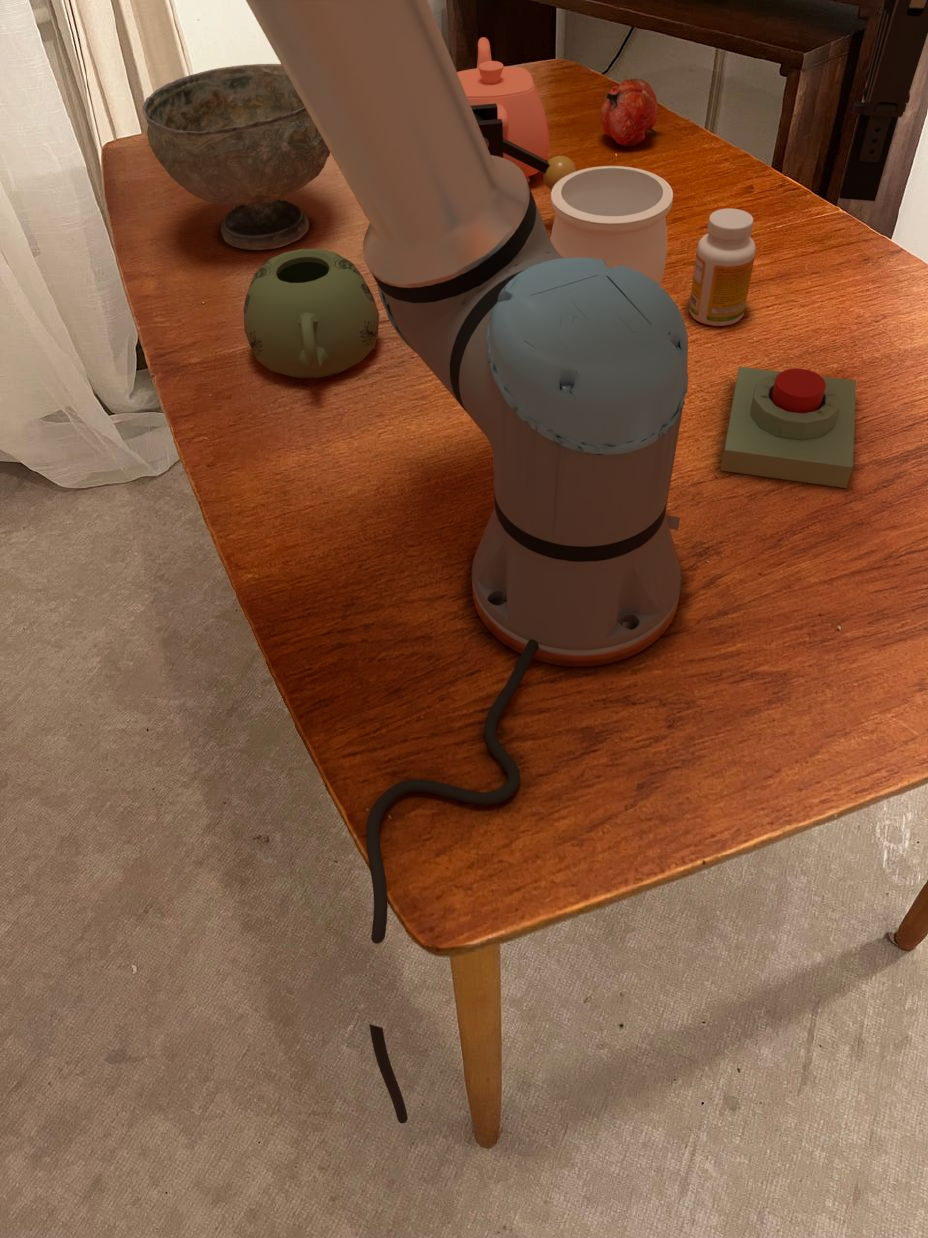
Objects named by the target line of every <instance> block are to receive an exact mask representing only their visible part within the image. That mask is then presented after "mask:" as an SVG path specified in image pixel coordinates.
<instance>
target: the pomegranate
mask: <svg viewBox="0 0 928 1238" xmlns="http://www.w3.org/2000/svg"><path fill="white" fill-rule="evenodd" d="M657 121H658V101H657V95H656V93H655V92H654V89H653V88H652V86H651V84H650V83H649V82H648V81H645V80H644V79H643V78H640V79H639V78H630V79H624V80H623V81H622V82H621V83H620V84H616V85H614V86H612V87H611V88H610V90H609V93H606V95H605V101H604V102H603V104H602V105H601V111H600V123H601V125H602V129H603V131H604V133H605V134H606V135H607V137H609V138H611V139H613V140H614V141H615V142H616V143H617V144H618V145H621V146H623V147H635V146H636V145H638V144H641V143H642V142H643V141H644V140H645V138H646V131H650V132H652V133H653V134H655V135H657V133H658V132H657V131H656V130H654V128H653V127H654V126H655V125H656V123H657Z"/></svg>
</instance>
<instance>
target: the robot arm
mask: <svg viewBox="0 0 928 1238" xmlns="http://www.w3.org/2000/svg"><path fill="white" fill-rule="evenodd" d="M245 2H246V3H247V5H248V7H249V9H250V10H251V12H252V14H253V16H254V18H255V19H256V22H257V24H258V25H259V26H260V28H261V30H262V32H263V34H264V36H265V37H266V39H267V41H268V43H269V45H270V47H271V48H272V50H273V52H274V54H275V55H276V57H277V59H278V61H279V64H282V66H283V68H284V70H285V72H286V73H287V75H288V77H289V79H290V81H291V82H292V84H293V86H294V88H295V90H296V91H297V93H298V95H299V97H300V99H301V100H302V102H303V104H304V106H305V108H306V109H307V111H308V113H309V115H310V117H311V118H312V120H313V122H314V124H315V126H316V127H317V129H318V131H319V133H320V134H321V136H322V138H323V140H324V142H325V143H326V145H327V147H328V149H329V151H330V155H331V156H332V158H333V160H334V162H335V163H336V165H337V167H338V169H339V170H340V172H341V174H342V176H343V177H344V179H345V181H346V183H347V186H349V188H350V190H351V192H352V194H353V195H354V198H355V199H356V201H357V203H358V205H359V206H360V208H361V209H362V212H363V214H364V216H365V217H366V219H367V221H368V223H369V224H368V225H367V228H366V231H365V233H364V238H363V242H362V255H363V260H364V263H365V265H366V266H367V269H368V270H369V272H370V274H371V275H372V277H373V279H374V281H375V282H376V285H377V290H378V295H379V299H380V300H381V303H382V306H383V308H384V310H385V313H386V316H387V318H388V321H389V323H390V324H391V326H392V327H393V329H394V330H395V332H396V333H397V335H398V336H399V337H400V339H401V340H402V341H403V342H404V343H405V344H406V345H407V347H408V348H410V349H411V350H412V351H413V352H415V354H417V356H418V357H419V358H420V359H421V360H422V362H423V363H424V364H425V365H426V366H427V367H428V369H429V370H430V371H431V372H432V374H434V375H435V377H436V378H437V380H439V382H440V383H441V384H442V385H443V387H444V388H445V389H446V390H447V391H448V392H449V393H450V395H451V396H452V397H453V398H454V400H455V401H456V402H457V403H458V404H459V406H460V407H461V408H462V409H463V411H465V412H466V413H467V415H468V416H469V418H470V419H471V420H472V421H473V422H474V424H476V426H477V427H478V428H479V430H480V431H481V432H482V433H483V434H484V436H485V437H486V438H487V440H488V443H489V445H490V448H491V451H492V460H493V461H492V463H493V491H494V493H493V494H494V496H493V498H494V507H493V510H492V511H491V514H490V516H489V519H488V521H487V524H486V526H485V529H484V531H483V534H482V536H481V539H480V541H479V544H478V547H477V548H476V552H475V554H474V557H473V560H472V566H471V587H472V589H471V590H472V599H473V603H474V607H475V610H476V612H477V614H478V616H479V618H480V620H481V621H482V623H483V624H484V626H485V627H486V629H488V631H489V632H490V633H491V634H492V635H493V636H494V637H495V638H496V639H497V640H498V641H499V642H501V643H502V644H504V645H505V646H507V647H508V648H510V649H511V650H513V651H514V652H517V653H518V654H521V655H520V656H519V659H518V660H517V663H516V664H515V666H514V668H513V670H512V672H511V674H510V675H509V678H508V679H507V682H506V683H505V685H504V687H503V688H502V690H501V691H500V693H499V694H498V695H497V697H496V698H495V700H494V702H493V703H492V705H491V706H490V708H489V711H488V713H487V714H486V718H485V721H484V727H483V731H484V735H483V736H484V739H485V743H486V746H487V747H488V749H489V751H490V753H491V755H492V756H493V757H494V758H495V760H496V761H497V762H498V763H499V765H500V766H501V767H502V768H503V769H504V772H505V773H506V775H507V779H506V782H505V783H504V785H502V786H501V787H500V788H499V789H495V790H494V791H488V792H487V791H485V792H484V791H475V790H470V789H466V788H462V787H458V786H455V785H453V784H448V783H444V782H441V781H436V780H430V779H425V778H424V779H423V778H417V779H413V778H412V779H406V780H404V781H400V782H397V783H396V784H394V785H392V786H391V787H389V788H387V790H385V791H384V792H383V793H382V794H381V795H380V796H379V797H378V799H377V800H376V801H375V803H374V804H373V805H372V807H371V810H370V812H369V814H368V817H367V822H366V827H365V838H366V839H365V840H366V841H365V842H366V852H367V858H368V859H367V860H368V865H369V871H370V877H371V885H372V893H373V914H372V915H373V917H372V927H371V936H370V940H371V941H372V943H373V944H376V945H379V944H381V943H383V941H384V940H385V938H386V934H387V933H386V932H387V923H388V906H389V905H388V903H389V901H388V889H387V888H388V887H387V880H386V873H385V867H384V862H383V856H382V855H383V854H382V849H381V842H380V828H381V822H382V819H383V817H384V814H385V813H386V811H387V810H388V809H389V807H390V806H391V805H392V804H393V803H394V802H395V801H396V800H397V799H398V798H400V797H401V796H403V795H406V794H410V793H426V794H432V795H436V796H440V797H445V798H448V799H451V800H455V801H458V802H462V803H465V804H466V803H467V804H471V805H477V806H491V805H497V804H500V803H503V802H506V801H508V800H509V799H510V798H511V797H512V796H513V795H514V794H515V793H516V792H517V790H518V789H519V787H520V784H521V771H520V769H519V767H518V765H517V763H516V762H515V760H514V759H513V758H512V756H511V755H510V754H509V753H508V751H507V750H506V749H505V748H504V746H503V745H502V744H501V742H500V740H499V738H498V734H497V729H498V727H497V726H498V723H499V720H500V718H501V716H502V714H503V712H504V710H505V709H506V707H507V706H508V704H509V703H510V701H511V700H512V699H513V696H515V694H516V692H517V690H518V688H519V686H520V684H521V683H522V681H523V679H524V677H525V675H526V673H527V671H528V669H529V667H530V665H531V663H532V661H533V660H535V661H539V662H541V663H546V664H550V665H555V666H562V667H574V668H575V667H581V668H583V667H597V666H602V665H608V664H612V663H616V662H620V661H622V660H625V659H627V658H630V657H632V656H635V655H637V654H638V653H640V652H642V651H644V650H646V649H647V648H649V647H650V646H652V644H654V643H655V642H656V641H658V640H659V639H660V637H661V636H663V634H664V633H665V632H666V630H667V629H668V628H669V627H670V625H671V623H672V622H673V620H674V617H675V615H676V613H677V610H678V605H679V601H680V595H681V590H682V589H681V588H682V582H683V581H682V580H683V579H682V568H681V564H680V561H679V557H678V553H677V549H676V547H675V543H674V540H673V536H672V532H671V530H673V531H679V529H680V528H679V527H680V522H681V517H679V516H674V515H669V514H666V512H667V506H668V505H667V504H668V499H669V495H670V494H669V493H670V487H671V482H672V476H673V475H672V474H673V471H674V464H675V457H676V452H677V446H678V441H679V440H678V439H679V435H680V429H681V428H680V427H681V422H682V417H683V416H682V415H683V411H684V410H683V409H684V405H685V401H686V400H685V399H686V396H687V393H688V389H689V372H688V367H689V366H688V363H689V362H688V361H689V359H688V358H689V357H688V356H689V336H688V330H687V326H686V323H685V320H684V317H683V315H682V312H681V311H680V308H679V307H678V305H677V304H676V302H675V301H674V299H673V298H672V297H671V295H670V294H669V293H668V292H667V291H666V290H665V289H664V288H663V287H662V286H661V287H660V286H659V285H658V284H657V283H655V282H654V281H653V280H651V279H650V278H649V277H647V276H645V275H644V274H642V273H640V272H638V271H636V270H634V269H632V268H629V267H627V266H624V265H620V266H618V267H616V268H609V267H608V266H606V262H605V260H601V259H595V258H585V257H571V258H562V257H561V256H560V254H559V253H558V252H557V250H556V249H555V247H554V246H553V244H552V242H551V240H550V239H551V237H550V236H549V234H548V230H547V229H546V226H545V223H544V220H543V218H542V216H541V213H540V210H539V208H538V205H537V202H536V200H535V197H534V195H533V192H532V190H531V187H530V185H529V183H528V182H527V180H526V177H525V175H524V173H523V172H522V170H521V169H520V168H519V167H518V166H517V165H515V164H514V163H513V162H511V161H509V160H507V159H504V158H501V157H498V156H493V155H490V153H489V150H488V148H487V145H486V143H485V140H484V138H483V135H482V133H481V131H480V128H479V126H478V123H477V121H476V118H475V116H474V113H473V111H472V108H471V106H470V104H469V101H468V99H467V96H466V94H465V91H464V89H463V86H462V84H461V81H460V79H459V77H458V74H457V72H458V71H457V69H456V67H455V64H454V62H453V59H452V57H451V55H450V52H449V49H448V47H447V44H446V42H445V40H444V38H443V35H442V33H441V30H440V28H439V26H438V23H437V21H436V18H435V14H433V10H432V8H431V5H430V3H429V0H245ZM874 36H875V37H874V40H873V43H872V44H873V45H872V49H871V53H870V58H869V63H868V66H867V69H865V72H864V81H865V84H866V85H865V87H863V90H862V94H861V95H862V97H863V98H862V101H854V103H853V107H852V115H857V117H856V122H855V125H854V129H853V134H852V138H851V142H850V146H849V149H848V150H849V151H848V154H847V158H846V162H845V166H844V170H843V173H842V179H841V183H840V186H839V193H838V194H839V195H838V198H839V199H840V200H841V199H843V200H853V201H855V200H857V201H866V202H876V199H877V195H878V192H879V188H880V185H881V180H882V177H883V175H884V171H885V167H886V163H887V160H888V156H889V152H890V148H891V145H892V141H893V138H894V134H895V130H896V127H897V123H898V119H899V118H902V117H903V116H904V113H905V112H906V108H907V104H909V102H910V99H911V93H910V92H911V88H912V85H913V82H914V79H915V76H916V73H917V69H918V66H919V63H920V60H921V58H922V57H921V56H922V54H923V50H924V47H925V44H926V40H927V37H928V0H882V5H881V10H880V14H879V19H878V23H877V27H876V31H875V35H874ZM368 1026H369V1032H370V1038H371V1043H372V1047H373V1053H374V1055H375V1059H376V1063H377V1065H378V1069H379V1071H380V1074H381V1077H382V1079H383V1081H384V1084H385V1086H386V1089H387V1092H388V1094H389V1097H390V1099H391V1102H392V1105H393V1109H394V1112H395V1116H396V1119H397V1121H398V1122H399V1123H400V1124H402V1125H403V1124H406V1123H407V1121H408V1119H409V1117H408V1112H407V1108H406V1104H405V1101H404V1097H403V1094H402V1091H401V1089H400V1086H399V1083H398V1081H397V1077H396V1075H395V1072H394V1069H393V1068H392V1063H391V1060H390V1057H389V1053H388V1048H387V1045H386V1040H385V1033H384V1028H383V1027H382V1026H377V1025H373V1024H369V1025H368Z"/></svg>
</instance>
